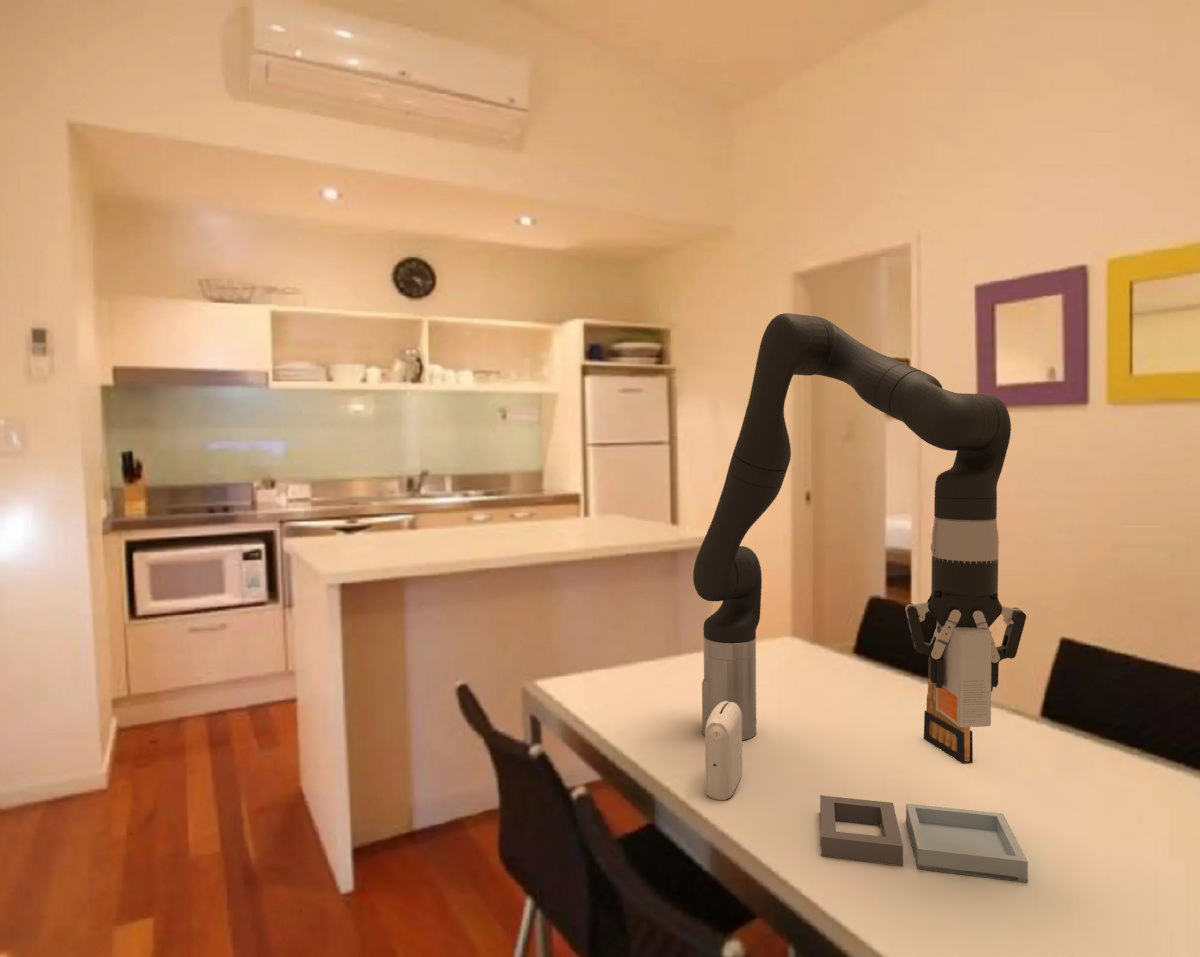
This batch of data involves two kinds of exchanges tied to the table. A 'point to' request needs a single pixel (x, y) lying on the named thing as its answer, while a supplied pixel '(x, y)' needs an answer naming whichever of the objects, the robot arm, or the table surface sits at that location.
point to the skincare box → (966, 678)
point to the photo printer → (723, 750)
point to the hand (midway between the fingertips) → (962, 687)
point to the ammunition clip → (946, 731)
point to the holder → (860, 845)
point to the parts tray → (965, 842)
